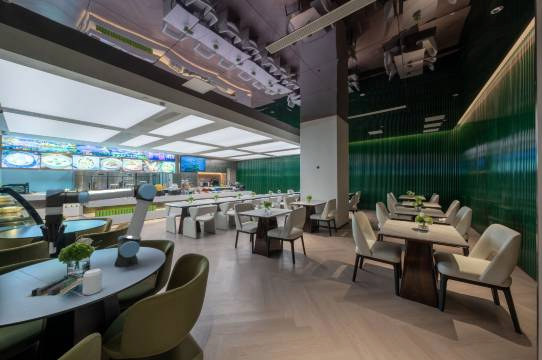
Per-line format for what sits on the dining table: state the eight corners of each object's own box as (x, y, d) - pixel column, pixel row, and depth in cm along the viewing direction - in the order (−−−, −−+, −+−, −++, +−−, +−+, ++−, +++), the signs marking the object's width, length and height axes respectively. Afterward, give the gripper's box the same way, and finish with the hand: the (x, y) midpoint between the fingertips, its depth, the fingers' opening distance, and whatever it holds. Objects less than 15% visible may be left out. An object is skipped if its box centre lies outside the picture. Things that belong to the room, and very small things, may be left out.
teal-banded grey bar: (82, 278, 130) (83, 273, 131) (55, 295, 110) (55, 289, 111) (70, 279, 129) (71, 274, 129) (40, 296, 109) (41, 290, 109)
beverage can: (90, 289, 120) (91, 268, 120) (104, 288, 121) (105, 268, 121) (78, 296, 112) (79, 274, 112) (93, 295, 112) (94, 273, 113)
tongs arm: (76, 278, 130) (76, 272, 130) (43, 295, 109) (44, 288, 110) (66, 279, 129) (66, 272, 130) (31, 296, 109) (31, 288, 109)
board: (88, 279, 132) (88, 277, 132) (61, 296, 111) (62, 294, 111) (58, 281, 129) (58, 279, 129) (24, 299, 108) (25, 297, 108)
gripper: (71, 212, 129) (69, 250, 128) (47, 213, 126) (45, 251, 126) (61, 214, 121) (60, 254, 121) (35, 215, 119) (33, 255, 118)
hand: (52, 252), depth 123 cm, fingers closed
